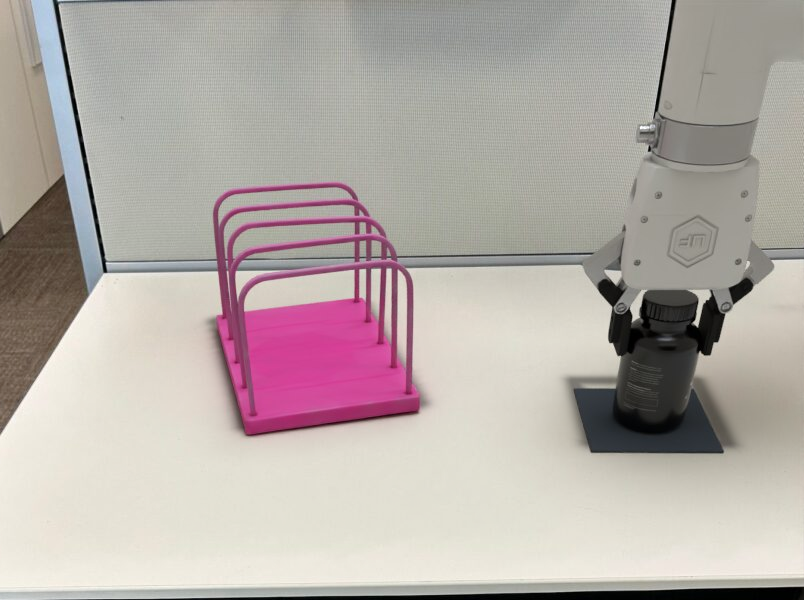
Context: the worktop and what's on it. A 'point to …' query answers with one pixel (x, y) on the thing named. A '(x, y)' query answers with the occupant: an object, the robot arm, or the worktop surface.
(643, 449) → the mat
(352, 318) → the file sorter
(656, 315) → the supplement bottle
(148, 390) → the worktop surface
